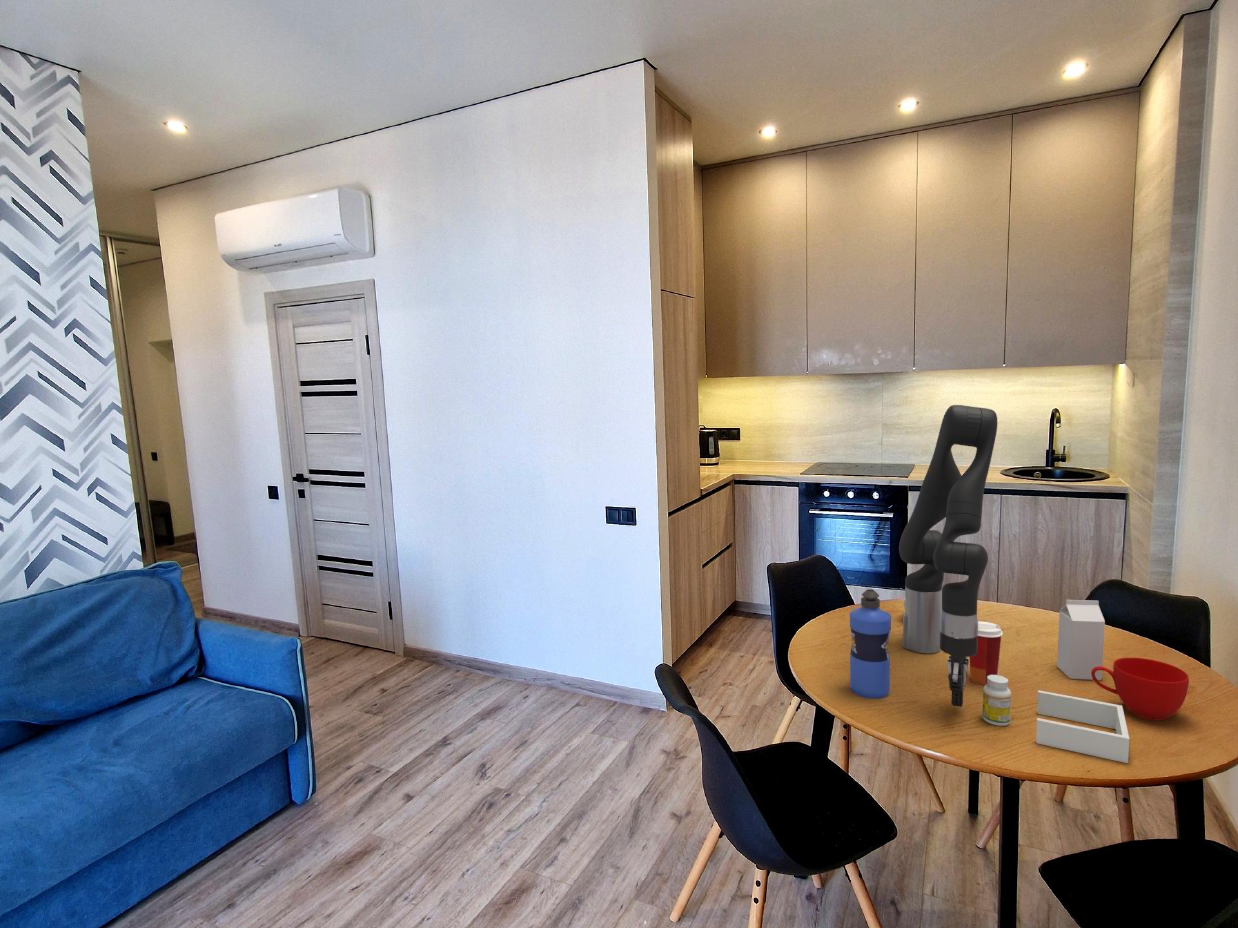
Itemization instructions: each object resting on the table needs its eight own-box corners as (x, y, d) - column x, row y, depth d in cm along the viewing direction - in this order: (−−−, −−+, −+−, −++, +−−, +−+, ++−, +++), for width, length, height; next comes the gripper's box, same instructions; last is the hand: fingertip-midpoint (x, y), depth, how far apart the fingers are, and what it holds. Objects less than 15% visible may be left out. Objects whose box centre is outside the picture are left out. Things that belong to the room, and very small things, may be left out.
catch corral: (1036, 742, 136) (1037, 719, 135) (1037, 711, 149) (1038, 690, 148) (1127, 763, 128) (1129, 738, 127) (1120, 728, 140) (1122, 705, 140)
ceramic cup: (1087, 690, 157) (1089, 650, 156) (1179, 706, 149) (1182, 663, 147) (1092, 715, 146) (1094, 671, 145) (1192, 733, 138) (1195, 687, 136)
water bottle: (848, 695, 159) (848, 594, 156) (850, 679, 168) (850, 583, 165) (890, 701, 156) (891, 598, 153) (890, 683, 164) (891, 586, 161)
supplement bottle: (1007, 729, 142) (1009, 686, 141) (979, 721, 145) (980, 679, 144) (1012, 718, 146) (1014, 677, 145) (985, 711, 149) (986, 671, 148)
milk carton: (1102, 680, 162) (1106, 605, 160) (1069, 679, 163) (1072, 604, 161) (1087, 668, 169) (1091, 596, 167) (1056, 666, 170) (1059, 595, 168)
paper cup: (997, 675, 167) (999, 621, 165) (1004, 689, 159) (1006, 633, 158) (962, 672, 169) (964, 619, 168) (967, 685, 162) (969, 630, 160)
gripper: (943, 618, 155) (942, 689, 157) (936, 637, 144) (934, 713, 146) (980, 623, 151) (978, 696, 153) (975, 643, 140) (973, 721, 142)
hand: (957, 704), depth 149 cm, fingers closed
